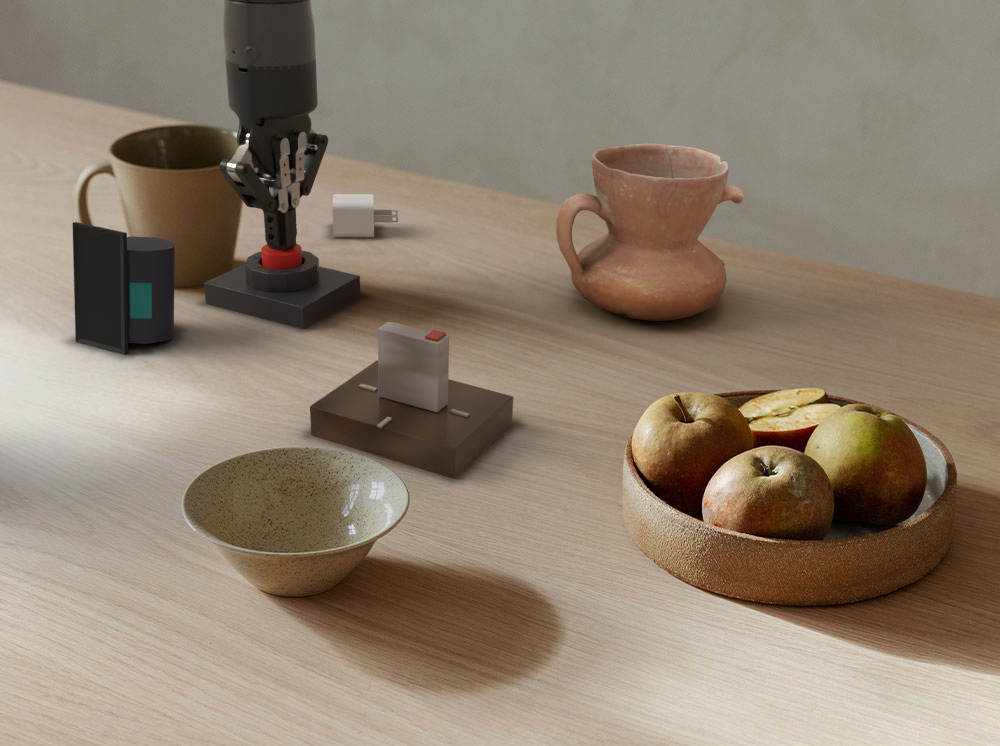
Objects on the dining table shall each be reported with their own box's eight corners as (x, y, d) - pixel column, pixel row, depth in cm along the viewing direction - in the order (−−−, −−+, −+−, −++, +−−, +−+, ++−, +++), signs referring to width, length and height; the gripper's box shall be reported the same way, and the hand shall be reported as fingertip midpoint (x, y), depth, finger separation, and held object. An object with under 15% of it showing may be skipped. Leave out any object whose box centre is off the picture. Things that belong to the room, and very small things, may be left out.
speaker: (107, 362, 90) (100, 237, 86) (74, 343, 93) (66, 222, 90) (190, 345, 95) (187, 227, 91) (156, 327, 98) (152, 213, 95)
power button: (254, 268, 101) (253, 250, 100) (278, 256, 104) (277, 238, 103) (286, 276, 99) (285, 257, 99) (310, 263, 102) (309, 246, 101)
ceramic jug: (697, 272, 114) (714, 135, 107) (760, 328, 101) (783, 178, 95) (529, 282, 110) (536, 140, 103) (572, 342, 97) (583, 185, 91)
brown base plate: (310, 436, 81) (308, 404, 79) (378, 387, 88) (377, 357, 87) (453, 481, 76) (454, 447, 75) (512, 424, 83) (514, 393, 82)
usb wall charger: (334, 227, 122) (333, 192, 120) (397, 227, 123) (397, 192, 121) (333, 239, 119) (332, 203, 117) (398, 239, 119) (398, 204, 118)
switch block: (205, 304, 102) (202, 264, 100) (266, 274, 109) (264, 236, 107) (303, 330, 97) (302, 288, 95) (360, 297, 104) (359, 257, 103)
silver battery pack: (378, 396, 81) (377, 325, 79) (389, 388, 82) (389, 317, 80) (437, 413, 79) (438, 340, 77) (448, 403, 80) (449, 332, 78)
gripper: (282, 37, 100) (291, 220, 108) (182, 60, 89) (201, 262, 97) (351, 47, 97) (356, 234, 105) (257, 72, 86) (270, 278, 94)
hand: (281, 247), depth 101 cm, fingers closed
